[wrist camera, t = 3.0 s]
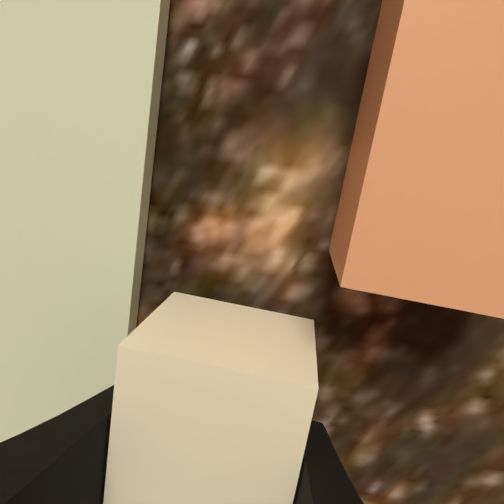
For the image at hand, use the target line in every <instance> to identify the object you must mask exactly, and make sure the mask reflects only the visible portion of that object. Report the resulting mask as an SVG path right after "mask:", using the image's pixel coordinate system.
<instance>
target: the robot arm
mask: <svg viewBox="0 0 504 504" xmlns="http://www.w3.org/2000/svg"><path fill="white" fill-rule="evenodd" d="M113 393H114V385H113V386H111V387H109V388H107V389H105V390H104V391H102V392H100V393H98V394H96V395H95V396H93V397H91V398H89V399H87V400H86V401H84V402H82V403H80V404H78V405H76V406H74V407H73V408H71V409H69V410H67V411H65V412H63V413H61V414H60V415H58V416H56V417H53V418H51V419H49V420H47V421H45V422H43V423H41V424H39V425H37V426H35V427H33V428H31V429H29V430H27V431H25V432H23V433H21V434H19V435H16V436H14V437H12V438H10V439H7V440H5V441H3V442H0V504H103V500H104V489H105V479H106V468H107V457H108V447H109V436H110V425H111V415H112V404H113ZM293 504H363V502H362V500H361V498H360V497H359V495H358V493H357V491H356V489H355V488H354V486H353V484H352V482H351V480H350V478H349V477H348V475H347V473H346V471H345V469H344V467H343V465H342V463H341V461H340V459H339V457H338V455H337V453H336V451H335V449H334V447H333V444H332V442H331V440H330V438H329V436H328V433H327V431H326V429H325V427H324V425H323V424H322V423H320V422H315V421H311V424H310V429H309V433H308V438H307V442H306V447H305V451H304V456H303V460H302V464H301V469H300V473H299V478H298V482H297V487H296V491H295V496H294V500H293Z"/></svg>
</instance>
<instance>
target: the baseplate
mask: <svg viewBox="0 0 504 504" xmlns="http://www.w3.org/2000/svg"><path fill="white" fill-rule="evenodd" d="M169 8H170V0H0V442H3V441H5V440H7V439H10V438H12V437H14V436H16V435H19V434H21V433H23V432H25V431H27V430H29V429H31V428H33V427H35V426H37V425H39V424H41V423H43V422H45V421H47V420H49V419H51V418H53V417H56V416H58V415H60V414H61V413H63V412H65V411H67V410H69V409H71V408H73V407H74V406H76V405H78V404H80V403H82V402H84V401H86V400H87V399H89V398H91V397H93V396H95V395H96V394H98V393H100V392H102V391H104V390H105V389H107V388H109V387H111V386H113V385H114V383H115V372H116V361H117V351H118V345H119V344H120V343H121V342H122V341H123V340H124V339H125V338H126V337H127V336H128V335H129V334H130V333H131V332H132V331H133V330H135V329H136V325H137V316H138V306H139V297H140V287H141V277H142V268H143V258H144V249H145V239H146V229H147V220H148V210H149V200H150V191H151V181H152V172H153V162H154V152H155V143H156V133H157V124H158V114H159V104H160V95H161V85H162V75H163V66H164V56H165V47H166V37H167V27H168V18H169Z"/></svg>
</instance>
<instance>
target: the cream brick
mask: <svg viewBox="0 0 504 504" xmlns="http://www.w3.org/2000/svg"><path fill="white" fill-rule="evenodd" d="M318 389H319V388H318V374H317V359H316V344H315V330H314V320H311V319H306V318H302V317H297V316H292V315H287V314H282V313H277V312H272V311H267V310H262V309H257V308H252V307H247V306H242V305H237V304H232V303H227V302H222V301H217V300H212V299H207V298H202V297H197V296H192V295H187V294H182V293H177V292H174V293H173V294H171V295H170V296H169V297H168V298H167V299H166V300H165V301H164V302H163V303H162V304H161V305H160V306H159V307H158V308H157V309H156V310H155V311H154V312H152V313H151V314H150V315H149V316H148V317H147V318H146V319H145V320H144V321H143V322H142V323H141V324H140V325H139V326H138V327H137V328H136V329H135V330H133V331H132V332H131V333H130V334H129V335H128V336H127V337H126V338H125V339H124V340H123V341H122V342H121V343H120V344H119V345H118V351H117V361H116V372H115V383H114V393H113V404H112V415H111V425H110V436H109V447H108V457H107V468H106V479H105V489H104V500H103V504H293V500H294V496H295V491H296V487H297V482H298V478H299V473H300V469H301V464H302V460H303V456H304V451H305V447H306V442H307V438H308V433H309V429H310V424H311V420H312V415H313V411H314V406H315V402H316V398H317V393H318Z"/></svg>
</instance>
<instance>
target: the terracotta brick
mask: <svg viewBox="0 0 504 504" xmlns="http://www.w3.org/2000/svg"><path fill="white" fill-rule="evenodd" d="M329 253H330V256H331V259H332V262H333V265H334V269H335V272H336V275H337V278H338V282H339V285H340V287H343V288H348V289H354V290H359V291H364V292H369V293H374V294H379V295H385V296H390V297H395V298H400V299H405V300H410V301H416V302H421V303H426V304H431V305H436V306H441V307H447V308H452V309H457V310H462V311H467V312H472V313H477V314H483V315H488V316H493V317H498V318H503V319H504V0H382V4H381V9H380V13H379V18H378V23H377V27H376V32H375V37H374V42H373V46H372V51H371V56H370V60H369V65H368V70H367V74H366V79H365V84H364V88H363V93H362V98H361V102H360V107H359V112H358V117H357V121H356V126H355V131H354V135H353V140H352V145H351V149H350V154H349V159H348V163H347V168H346V173H345V177H344V182H343V187H342V192H341V196H340V201H339V206H338V210H337V215H336V220H335V224H334V229H333V234H332V238H331V243H330V248H329Z"/></svg>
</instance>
